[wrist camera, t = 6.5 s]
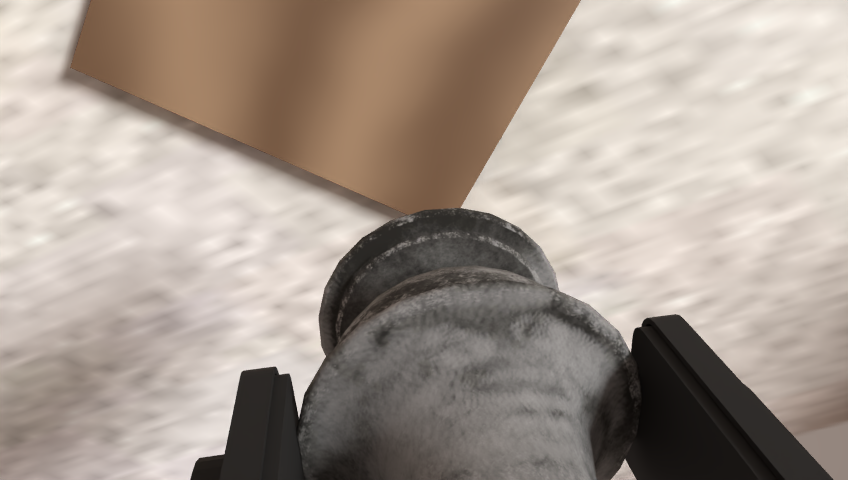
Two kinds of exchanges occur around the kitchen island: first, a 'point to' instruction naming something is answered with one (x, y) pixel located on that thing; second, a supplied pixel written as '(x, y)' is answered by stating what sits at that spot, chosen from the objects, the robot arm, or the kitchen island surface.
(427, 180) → the walnut board
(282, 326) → the kitchen island surface
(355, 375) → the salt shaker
